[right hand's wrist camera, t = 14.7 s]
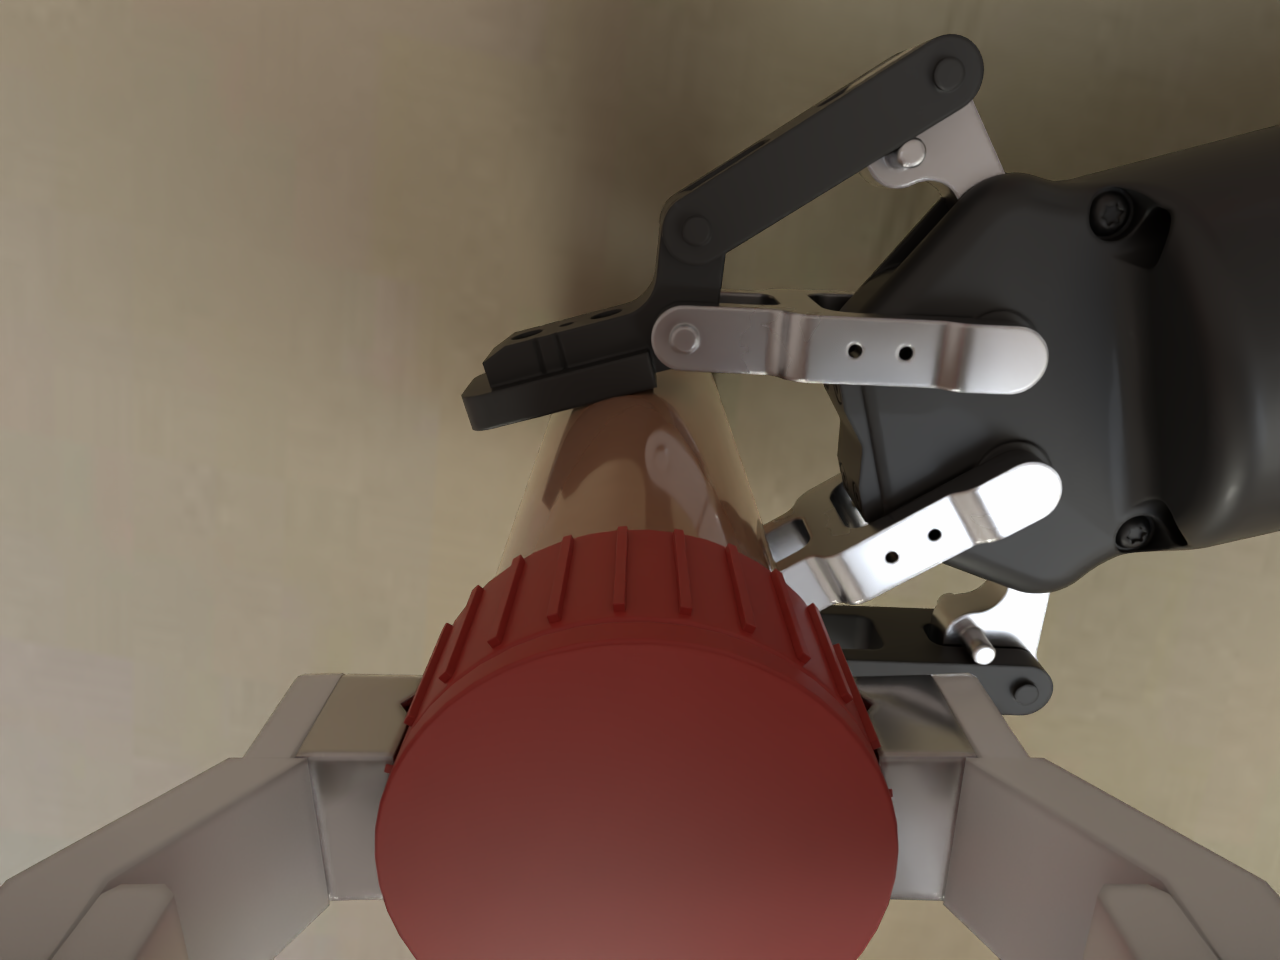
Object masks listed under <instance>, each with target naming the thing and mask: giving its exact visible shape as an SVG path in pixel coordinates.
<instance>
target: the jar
mask: <svg viewBox="0 0 1280 960" xmlns="http://www.w3.org/2000/svg"><path fill="white" fill-rule="evenodd" d="M656 376H657V388H653V389H649V390H645V391H641V392H637V393H633V394H629V395H625V396H620V397H614V398H610V399H606V400H603V401H599V402H597V403H593V404H589V405H585V406H581V407H577V408H573V409H569V410H565V411H561V412H557V413H553V414H551V417H550V420H549V423H548V425H547V428H546V431H545V434H544V437H543V440H542V443H541V446H540V448H539V451H538V454H537V457H536V460H535V463H534V466H533V469H532V472H531V474H530V477H529V480H528V483H527V486H526V489H525V492H524V495H523V497H522V500H521V503H520V506H519V509H518V512H517V515H516V518H515V520H514V523H513V526H512V529H511V532H510V535H509V538H508V541H507V543H506V546H505V549H504V552H503V555H502V558H501V561H500V564H499V566H498V569H497V572H496V575H495V577H496V576H498V575H499V574H500V573H502V572H503V571H504V570H506V569H507V568H508V567H510V566H511V564H512V561H513V559H514V558H515V557H517V556H519V555H522V557H523V558H525V557H527V556H529V555H531V554H533V553H534V552H537V551H539V550H542V549H544V548H547V547H549V546H552V545H554V544H556V543H559V542H561V541H562V538H563V537H564V536H568V535H572V536H573V538H577V537H580V536H584V535H588V534H594V533H601V532H608V531H616V530H617V529H618V526H627V527H628V530H656V531H666V532H674V529H680V530H684V534H685V535H689V536H693V537H698V538H702V539H706V540H709V541H712V542H714V543H717V544H720V545H723V546H725V547H726V546H727V544H728V543H730V544H732V545H735V546H736V547H737V550H738V552H739V553H741V554H743V555H745V556H747V557H749V558H751V559H753V560H754V561H756V562H758V563H760V564H761V565H762V566H764V567H765V568H767V569H768V570H770V571H771V572H773V570H774V569H777V570H778V568H777V565H776V562H775V559H774V556H773V553H772V550H771V547H770V544H769V541H768V538H767V535H766V532H765V529H764V526H763V523H762V520H761V517H760V514H759V511H758V508H757V505H756V502H755V499H754V496H753V493H752V490H751V487H750V485H749V482H748V479H747V476H746V473H745V470H744V467H743V464H742V461H741V458H740V455H739V452H738V449H737V446H736V443H735V440H734V437H733V434H732V431H731V428H730V425H729V422H728V419H727V416H726V413H725V410H724V407H723V404H722V401H721V398H720V396H719V393H718V390H717V387H716V384H715V381H714V378H713V375H712V372H692V371H678V370H674V369H669V370H665V371H661V372H657V373H656Z"/></svg>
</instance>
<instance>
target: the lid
mask: <svg viewBox="0 0 1280 960" xmlns="http://www.w3.org/2000/svg"><path fill="white" fill-rule="evenodd" d="M404 724H406V725H408V726H409V728H408V730H407V733H406V735H405V738H404V740H403V743H402V745H401V748H400V750H399V753H398V755H397V757H396V760H395V762H394V765H389V764H386V766H385V770H384V772H385V773H389V774H390V775H389V777H388V780H387V783H386V786H385V788H384V791H383V794H382V797H381V800H380V804H379V809H378V814H377V820H376V825H375V862H376V869H377V876H378V882H379V887H380V890H381V893H382V896H383V899H384V902H385V905H386V909H387V911H388V913H389V915H390V917H391V919H392V921H393V923H394V925H395V927H396V929H397V931H398V933H399V935H400V937H401V938H402V940H403V941H404V943H405V944H406V946H407V947H408V948H409V950H410V951H411V953H412V954H413V956H414V957H415V958H416V960H857V958H858V957H859V956H860V955H861V954H862V952H863V951H864V949H865V948H866V946H867V945H868V943H869V942H870V940H871V938H872V937H873V935H874V934H875V932H876V931H877V929H878V927H879V924H880V922H881V920H882V918H883V915H884V913H885V911H886V909H887V906H888V904H889V900H890V897H891V893H892V889H893V886H894V882H895V878H896V870H897V861H898V851H899V846H898V829H897V819H896V815H895V811H894V806H893V802H892V798H891V797H893V792H892V789H888V786H887V784H886V781H885V779H884V776H883V774H882V771H881V769H880V766H879V763H878V761H877V758H876V756H875V753H874V751H873V750H874V749H877V748H880V747H881V744H880V742H879V739H878V737H877V735H876V732H875V730H874V727H873V725H872V722H871V720H870V717H869V715H868V712H867V710H866V708H865V705H864V703H863V700H862V698H861V695H860V693H859V690H858V688H857V686H856V683H855V681H854V678H853V676H852V673H851V671H850V668H849V666H848V664H847V661H846V659H845V656H844V654H843V651H842V649H841V647H840V644H839V643H838V644H835V645H832V643H831V640H830V638H829V635H828V633H827V630H826V627H825V625H824V622H823V620H822V617H821V615H820V612H819V610H818V608H817V607H816V605H815V604H814V603H812V604H810V605H809V606H808V605H807V604H806V603H805V602H804V601H803V599H802V598H801V597H800V596H799V595H798V594H797V593H796V592H795V591H794V590H793V589H792V588H791V587H790V586H788V585H787V584H786V583H785V580H784V577H783V574H782V573H781V572H780V571H779V570H777V569H774V570H773V572H771V571H770V570H768V569H767V568H765V567H764V566H762V565H761V564H760V563H758V562H756V561H754V560H753V559H751V558H749V557H747V556H745V555H743V554H741V553H739V552H738V550H737V547H736V546H735V545H732V544H730V543H728V544H727V546H726V547H725V546H723V545H720V544H717V543H714V542H712V541H709V540H706V539H702V538H698V537H693V536H689V535H685V534H684V530H680V529H674V532H666V531H656V530H628V527H627V526H618V529H617V530H616V531H608V532H601V533H594V534H588V535H584V536H580V537H577V538H573V536H572V535H568V536H564V537H563V538H562V541H561V542H559V543H556V544H554V545H552V546H549V547H547V548H544V549H542V550H539V551H537V552H534V553H533V554H531V555H529V556H527V557H525V558H523V557H522V555H519V556H517V557H515V558H514V559H513V561H512V564H511V566H510V567H508V568H507V569H506V570H504V571H503V572H502V573H500V574H499V575H498V576H496V577H495V578H494V579H492V580H491V581H490V582H489V583H488V584H487V585H486V586H485V587H483V588H482V587H480V586H479V585H477V586H476V587H475V588H474V589H473V590H472V592H471V595H470V598H469V600H468V603H467V605H466V607H465V608H464V610H463V611H462V612H461V614H460V615H459V616H458V618H457V619H456V620H455V622H454V624H453V625H450V624H449V623H446V624H445V626H444V627H443V629H442V631H441V634H440V636H439V639H438V641H437V643H436V646H435V648H434V651H433V653H432V655H431V658H430V660H429V662H428V665H427V667H426V669H425V672H424V674H423V677H422V679H421V682H420V684H419V686H418V689H417V691H416V693H415V696H414V698H413V701H412V703H411V705H410V707H409V710H408V712H407V715H406V717H405V720H404Z"/></svg>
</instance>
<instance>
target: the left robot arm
mask: <svg viewBox="0 0 1280 960" xmlns="http://www.w3.org/2000/svg"><path fill="white" fill-rule="evenodd" d="M983 74H984V65H983V59H982V56H981V54H980V51H979V50H978V48H977V47H976V45H975V44H974V43H973V42H972V41H970V40H969V39H967V38H965V37H963V36H961V35H956V34H947V35H942V36H939V37H936V38H934V39H931V40H929V41H927V42H924V43H922V44H919V45H917V46H914V47H912V48H910V49H907V50H905V51H902V52H900V53H897V54H895V55H894V56H892V57H890V58H889V59H887V60H885V61H884V62H882V63H881V64H879V65H878V66H876V67H874V68H873V69H871V70H870V71H868V72H867V73H865V74H863V75H862V76H860V77H859V78H857V79H855V80H854V81H852V82H851V83H849V84H848V85H846V86H844V87H843V88H841V89H840V90H838V91H837V92H835V93H833V94H832V95H830V96H829V97H827V98H826V99H824V100H822V101H821V102H819V103H818V104H816V105H814V106H813V107H811V108H810V109H808V110H807V111H805V112H803V113H802V114H800V115H799V116H797V117H796V118H794V119H792V120H791V121H789V122H788V123H786V124H785V125H783V126H781V127H780V128H778V129H777V130H775V131H773V132H772V133H770V134H769V135H767V136H766V137H764V138H762V139H761V140H759V141H758V142H756V143H755V144H753V145H751V146H750V147H748V148H747V149H745V150H744V151H742V152H740V153H739V154H737V155H736V156H734V157H732V158H731V159H729V160H728V161H726V162H725V163H723V164H721V165H720V166H718V167H717V168H715V169H714V170H712V171H710V172H709V173H707V174H706V175H704V176H702V177H701V178H699V179H698V180H696V181H695V182H693V183H691V184H690V185H688V186H687V187H685V188H684V189H682V190H680V191H679V192H677V193H676V194H674V195H673V196H672V197H670V198H669V199H668V200H667V201H666V203H665V204H664V206H663V208H662V211H661V214H660V228H659V238H658V248H657V258H656V268H655V273H654V277H653V280H652V282H651V284H650V286H649V287H648V289H647V290H646V291H645V292H644V293H643V294H642V295H641V296H640V297H639V298H637V299H636V300H634V301H632V302H629V303H626V304H623V305H619V306H615V307H611V308H607V309H603V310H600V311H596V312H592V313H588V314H584V315H580V316H577V317H573V318H569V319H565V320H562V321H557V322H553V323H550V324H546V325H543V326H538V327H534V328H530V329H527V330H523V331H519V332H515V333H514V334H512V335H511V336H510V337H508V338H507V339H506V340H504V341H503V342H502V343H500V344H499V345H498V346H496V347H495V348H494V349H493V350H492V352H491V353H490V354H489V355H488V357H487V358H486V359H485V361H484V362H483V366H484V369H485V372H486V373H484V374H482V375H479V376H477V377H476V378H474V379H473V380H472V382H471V383H470V384H469V386H468V387H467V388H466V390H465V391H464V392H463V393H462V395H461V396H462V399H463V402H464V405H465V408H466V411H467V414H468V417H469V420H470V423H471V426H472V429H473V430H475V431H482V430H489V429H493V428H497V427H501V426H505V425H509V424H513V423H517V422H521V421H525V420H529V419H533V418H537V417H541V416H545V415H549V414H553V413H557V412H561V411H565V410H569V409H573V408H577V407H581V406H585V405H589V404H593V403H597V402H599V401H603V400H606V399H610V398H614V397H620V396H625V395H629V394H633V393H637V392H641V391H645V390H649V389H653V388H657V376H656V373H657V372H661V371H665V370H669V369H674V370H678V371H692V372H715V373H739V374H762V375H772V376H777V377H780V378H782V379H786V380H790V381H795V382H804V383H824V387H825V389H826V391H827V393H828V395H829V397H830V399H831V401H832V403H833V405H834V407H835V409H836V411H837V413H838V415H839V417H840V432H839V443H838V454H837V456H838V461H839V466H840V471H841V473H839V474H837V475H836V476H834V477H832V478H830V479H828V480H827V481H825V482H823V483H821V484H819V485H817V486H816V487H814V488H812V489H810V490H808V491H807V492H805V493H804V494H803V495H801V496H800V497H799V498H798V499H797V501H796V502H795V504H794V506H793V507H792V508H791V509H790V510H789V511H788V512H786V513H785V514H783V515H781V516H779V517H778V518H776V519H774V520H772V521H770V522H768V523H767V524H765V525H763V526H764V529H765V532H766V535H767V538H768V541H769V544H770V547H771V550H772V553H773V556H774V559H775V562H776V565H777V568H778V570H779V571H780V572H781V573H782V574H783V577H784V580H785V583H786V584H787V585H788V586H790V587H791V588H792V589H793V590H794V591H795V592H796V593H797V594H798V595H799V596H800V597H801V598H802V599H803V601H804V602H805V603H806V604H807V605H808V606H809V605H810V604H812V603H814V604H815V605H816V607H817V608H818V610H819V612H820V615H821V617H822V620H823V622H824V625H825V627H826V630H827V633H828V635H829V638H830V640H831V643H832V645H835V644H838V643H839V644H840V647H841V649H842V651H843V654H844V656H845V659H846V661H847V664H848V666H849V668H850V671H851V673H852V676H853V677H856V676H895V675H927V674H952V673H970V674H972V675H974V676H976V677H977V679H978V680H979V682H980V683H981V685H982V686H983V688H984V689H985V691H986V692H987V694H988V695H989V697H990V698H991V700H992V701H993V703H994V704H995V706H996V707H997V709H998V710H999V712H1000V713H1001V715H1028V714H1031V713H1034V712H1036V711H1038V710H1039V709H1041V708H1042V707H1043V706H1045V705H1046V703H1047V702H1048V701H1049V699H1050V698H1051V695H1052V692H1053V683H1052V680H1051V678H1050V676H1049V675H1048V674H1047V672H1046V671H1045V670H1044V668H1043V667H1042V666H1041V665H1040V663H1039V662H1038V660H1037V656H1036V653H1037V648H1038V644H1039V639H1040V635H1041V630H1042V626H1043V621H1044V617H1045V612H1046V608H1047V603H1048V599H1049V594H1050V592H1054V591H1058V590H1061V589H1063V588H1066V587H1068V586H1069V585H1071V584H1073V583H1075V582H1076V581H1077V580H1079V579H1080V578H1081V577H1083V576H1084V575H1085V574H1086V573H1088V572H1089V571H1091V570H1092V569H1094V568H1095V567H1097V566H1098V565H1100V564H1102V563H1104V562H1106V561H1108V560H1110V559H1112V558H1114V557H1116V556H1119V555H1122V554H1127V553H1134V552H1148V551H1172V550H1191V549H1199V548H1206V547H1211V546H1215V545H1219V544H1224V543H1228V542H1233V541H1237V540H1241V539H1246V538H1250V537H1255V536H1259V535H1264V534H1268V533H1272V532H1277V531H1280V125H1277V126H1273V127H1269V128H1265V129H1261V130H1257V131H1253V132H1250V133H1246V134H1242V135H1238V136H1234V137H1230V138H1227V139H1223V140H1219V141H1215V142H1211V143H1208V144H1204V145H1200V146H1196V147H1192V148H1189V149H1185V150H1181V151H1177V152H1173V153H1169V154H1166V155H1162V156H1158V157H1154V158H1150V159H1147V160H1143V161H1139V162H1135V163H1131V164H1128V165H1124V166H1120V167H1116V168H1112V169H1108V170H1105V171H1101V172H1097V173H1093V174H1089V175H1086V176H1082V177H1078V178H1074V179H1069V180H1062V181H1050V180H1046V179H1043V178H1039V177H1036V176H1033V175H1030V174H1024V173H1005V172H1004V169H1003V167H1002V165H1001V163H1000V160H999V158H998V156H997V154H996V151H995V149H994V147H993V145H992V142H991V140H990V138H989V135H988V133H987V131H986V129H985V126H984V124H983V122H982V120H981V117H980V115H979V113H978V111H977V108H976V106H975V104H974V101H973V98H974V97H975V96H976V94H977V92H978V91H979V89H980V86H981V84H982V80H983ZM858 172H859V173H860V175H861V176H862V177H863V179H864V180H866V181H867V182H868V183H870V184H872V185H874V186H877V187H885V188H894V189H901V188H906V187H909V186H911V185H914V184H916V183H918V182H922V181H925V182H928V183H930V184H931V185H933V186H934V187H935V188H936V189H937V190H938V191H939V193H940V194H941V196H942V197H941V198H940V199H939V200H938V201H937V203H936V204H935V205H934V206H933V207H932V208H931V209H930V210H929V211H928V213H927V214H926V215H925V216H924V217H923V218H922V219H921V220H920V221H919V223H918V224H917V225H916V226H915V227H914V228H913V229H912V230H911V231H910V233H909V234H908V235H907V236H906V237H905V238H904V239H903V240H902V241H901V243H900V244H899V245H898V246H897V247H896V248H895V249H894V250H893V251H892V253H891V254H890V255H889V256H888V257H887V258H886V259H885V260H884V261H883V262H882V264H881V265H880V266H879V267H878V268H877V269H876V270H875V271H874V272H873V274H872V275H871V276H870V277H869V278H868V279H867V280H866V281H865V282H864V284H863V285H862V286H861V287H860V288H859V289H858V290H857V291H856V292H855V291H832V290H809V289H787V288H772V289H766V290H737V289H721V286H722V278H723V270H724V262H725V254H726V253H727V252H729V251H730V250H732V249H734V248H735V247H737V246H739V245H740V244H742V243H743V242H745V241H747V240H748V239H750V238H752V237H753V236H755V235H757V234H758V233H760V232H761V231H763V230H765V229H766V228H768V227H770V226H771V225H773V224H774V223H776V222H778V221H779V220H781V219H783V218H784V217H786V216H788V215H789V214H791V213H792V212H794V211H796V210H797V209H799V208H801V207H802V206H804V205H805V204H807V203H809V202H810V201H812V200H814V199H815V198H817V197H819V196H820V195H822V194H823V193H825V192H827V191H828V190H830V189H832V188H833V187H835V186H836V185H838V184H840V183H841V182H843V181H845V180H846V179H848V178H850V177H851V176H853V175H854V174H856V173H858ZM867 524H868V525H867ZM940 563H943V564H946V565H949V566H952V567H954V568H957V569H960V570H962V571H965V572H968V573H970V574H973V575H976V576H978V577H981V578H984V579H986V580H987V581H986V582H985V583H984V584H983V585H982V586H980V587H979V588H977V589H976V590H974V591H971V592H968V593H961V594H952V593H946V594H943V595H942V596H940V598H939V599H938V601H937V606H936V607H935V608H934V609H924V608H896V607H869V606H841V605H833V604H835V603H846V604H850V605H855V604H860V603H864V602H866V601H868V600H871V599H872V598H874V597H876V596H878V595H880V594H882V593H884V592H886V591H888V590H890V589H892V588H894V587H896V586H898V585H900V584H901V583H903V582H905V581H907V580H909V579H911V578H913V577H915V576H917V575H919V574H921V573H923V572H925V571H927V570H928V569H930V568H932V567H934V566H936V565H938V564H940Z"/></svg>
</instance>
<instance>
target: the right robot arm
mask: <svg viewBox="0 0 1280 960" xmlns="http://www.w3.org/2000/svg"><path fill="white" fill-rule="evenodd" d="M422 677H423V675H384V674H347V675H345V674H343V673H324V674H303V675H300V676H298V677H297V678H296V679H295V680H294V682H293V683H292V685H291V686H290V688H289V689H288V691H287V692H286V694H285V695H284V697H283V698H282V700H281V701H280V703H279V704H278V706H277V707H276V708H275V710H274V711H273V713H272V714H271V716H270V717H269V719H268V720H267V722H266V723H265V725H264V726H263V728H262V729H261V731H260V732H259V734H258V735H257V737H256V738H255V740H254V741H253V743H252V744H251V746H250V747H249V749H248V750H247V752H246V753H245V755H244V756H243V758H228V759H226V760H224V761H222V762H221V763H219V764H217V765H215V766H213V767H212V768H210V769H208V770H206V771H204V772H202V773H201V774H199V775H197V776H195V777H193V778H192V779H190V780H188V781H186V782H184V783H182V784H181V785H179V786H177V787H175V788H173V789H172V790H170V791H168V792H166V793H164V794H162V795H161V796H159V797H157V798H155V799H153V800H152V801H150V802H148V803H146V804H144V805H142V806H141V807H139V808H137V809H135V810H133V811H131V812H130V813H128V814H126V815H124V816H122V817H121V818H119V819H117V820H115V821H113V822H111V823H110V824H108V825H106V826H104V827H102V828H101V829H99V830H97V831H95V832H93V833H91V834H90V835H88V836H86V837H84V838H82V839H81V840H79V841H77V842H75V843H73V844H71V845H70V846H68V847H66V848H64V849H62V850H61V851H59V852H57V853H55V854H53V855H51V856H50V857H48V858H46V859H44V860H42V861H40V862H39V863H37V864H35V865H33V866H31V867H30V868H28V869H26V870H24V871H22V872H20V873H19V874H17V875H15V876H13V877H11V878H10V879H8V880H6V881H5V882H4V884H3V885H2V886H1V887H0V960H273V959H274V958H275V957H276V956H277V955H278V954H279V953H280V952H281V951H282V950H283V949H284V948H285V947H286V946H287V945H288V944H289V943H290V942H291V941H292V940H293V939H295V938H296V937H297V936H298V935H299V934H300V933H301V932H302V931H303V930H304V929H305V928H306V927H307V926H308V925H309V924H310V923H311V922H312V921H313V920H314V919H316V918H317V917H318V916H319V915H320V914H321V913H322V912H323V911H324V910H325V909H326V908H327V907H328V906H329V901H335V900H370V899H383V896H382V893H381V890H380V887H379V882H378V876H377V869H376V862H375V825H376V820H377V814H378V809H379V804H380V800H381V797H382V794H383V791H384V788H385V786H386V783H387V780H388V777H389V775H390V774H389V773H385V772H384V770H385V766H386V764H389V765H394V762H395V760H396V757H397V755H398V753H399V750H400V748H401V745H402V743H403V740H404V738H405V735H406V733H407V730H408V728H409V726H408V725H406V724H404V720H405V717H406V715H407V712H408V710H409V707H410V705H411V703H412V701H413V698H414V696H415V693H416V691H417V689H418V686H419V684H420V682H421V679H422ZM853 678H854V681H855V683H856V686H857V688H858V690H859V693H860V695H861V698H862V700H863V703H864V705H865V708H866V710H867V712H868V715H869V717H870V720H871V722H872V725H873V727H874V730H875V732H876V735H877V737H878V739H879V742H880V744H881V747H880V748H877V749H874V750H873V751H874V753H875V756H876V758H877V761H878V763H879V766H880V769H881V771H882V774H883V776H884V779H885V781H886V784H887V786H888V789H892V792H893V797H891V798H892V802H893V806H894V811H895V815H896V819H897V829H898V846H899V851H898V861H897V870H896V878H895V882H894V886H893V889H892V893H891V897H890V899H902V900H937V901H944V903H943V905H945V906H946V907H947V908H948V909H949V910H950V911H951V912H952V913H953V914H954V915H955V916H956V917H957V918H958V919H959V920H960V921H961V922H962V923H963V924H964V925H965V926H966V927H967V928H968V929H969V930H970V931H971V932H973V933H974V934H975V935H976V936H977V937H978V938H979V939H980V940H981V941H982V942H983V943H984V944H985V945H986V946H987V947H988V948H989V949H990V950H991V951H992V952H993V953H994V954H995V955H996V956H997V957H998V958H999V959H1001V960H1280V897H1279V896H1278V895H1277V894H1276V892H1275V891H1274V890H1273V889H1272V888H1271V887H1270V885H1269V884H1268V883H1267V882H1266V881H1264V880H1262V879H1261V878H1259V877H1257V876H1255V875H1253V874H1252V873H1250V872H1248V871H1246V870H1244V869H1243V868H1241V867H1239V866H1237V865H1235V864H1234V863H1232V862H1230V861H1228V860H1226V859H1225V858H1223V857H1221V856H1219V855H1217V854H1216V853H1214V852H1212V851H1210V850H1208V849H1207V848H1205V847H1203V846H1201V845H1199V844H1198V843H1196V842H1194V841H1192V840H1190V839H1189V838H1187V837H1185V836H1183V835H1181V834H1180V833H1178V832H1176V831H1174V830H1172V829H1171V828H1169V827H1167V826H1165V825H1163V824H1162V823H1160V822H1158V821H1156V820H1154V819H1153V818H1151V817H1149V816H1147V815H1145V814H1144V813H1142V812H1140V811H1138V810H1136V809H1135V808H1133V807H1131V806H1129V805H1127V804H1126V803H1124V802H1122V801H1120V800H1118V799H1117V798H1115V797H1113V796H1111V795H1109V794H1108V793H1106V792H1104V791H1102V790H1100V789H1099V788H1097V787H1095V786H1093V785H1091V784H1090V783H1088V782H1086V781H1084V780H1082V779H1081V778H1079V777H1077V776H1075V775H1073V774H1072V773H1070V772H1068V771H1066V770H1064V769H1063V768H1061V767H1059V766H1057V765H1055V764H1054V763H1052V762H1050V761H1048V760H1046V759H1045V758H1030V757H1029V755H1028V754H1027V752H1026V751H1025V749H1024V748H1023V746H1022V745H1021V743H1020V742H1019V740H1018V739H1017V737H1016V736H1015V734H1014V733H1013V731H1012V730H1011V728H1010V727H1009V725H1008V724H1007V722H1006V721H1005V719H1004V718H1003V716H1002V715H1001V713H1000V712H999V710H998V709H997V707H996V706H995V704H994V703H993V701H992V700H991V698H990V697H989V695H988V694H987V692H986V691H985V689H984V688H983V686H982V685H981V683H980V682H979V680H978V679H977V677H976V676H974V675H972V674H970V673H952V674H927V675H895V676H856V677H853Z"/></svg>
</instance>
